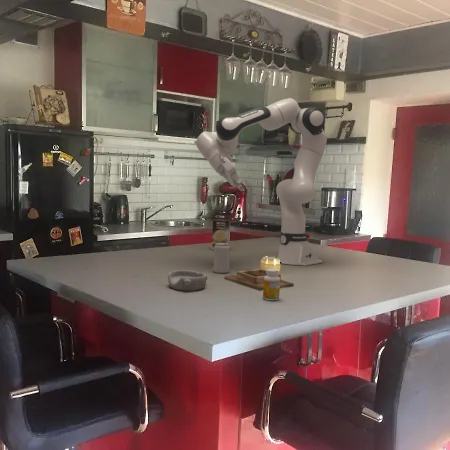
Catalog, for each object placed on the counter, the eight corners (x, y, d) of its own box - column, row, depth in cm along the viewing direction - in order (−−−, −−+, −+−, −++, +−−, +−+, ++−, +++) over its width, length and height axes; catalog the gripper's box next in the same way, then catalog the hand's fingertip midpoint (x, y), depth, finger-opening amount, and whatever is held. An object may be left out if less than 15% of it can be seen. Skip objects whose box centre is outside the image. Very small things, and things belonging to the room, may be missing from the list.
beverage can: (227, 274, 206) (228, 244, 205) (211, 273, 208) (212, 243, 206) (230, 271, 213) (231, 242, 211) (215, 270, 214) (216, 241, 213)
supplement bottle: (261, 296, 171) (262, 268, 170) (277, 297, 171) (278, 268, 170) (264, 300, 166) (265, 271, 165) (280, 301, 166) (281, 271, 165)
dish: (191, 294, 172) (192, 279, 171) (159, 287, 179) (159, 273, 179) (215, 286, 184) (215, 273, 184) (184, 281, 191) (184, 268, 191)
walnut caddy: (256, 275, 207) (257, 266, 206) (293, 286, 189) (294, 276, 189) (224, 278, 198) (224, 269, 197) (259, 290, 180) (260, 280, 179)
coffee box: (211, 250, 268) (212, 219, 267) (212, 248, 275) (213, 218, 273) (228, 251, 268) (229, 220, 266) (229, 249, 274) (230, 219, 272)
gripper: (224, 149, 210) (245, 173, 206) (231, 166, 230) (249, 189, 226) (212, 158, 210) (232, 183, 206) (219, 175, 229) (238, 198, 225)
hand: (241, 186), depth 216 cm, fingers open, 8 cm apart
